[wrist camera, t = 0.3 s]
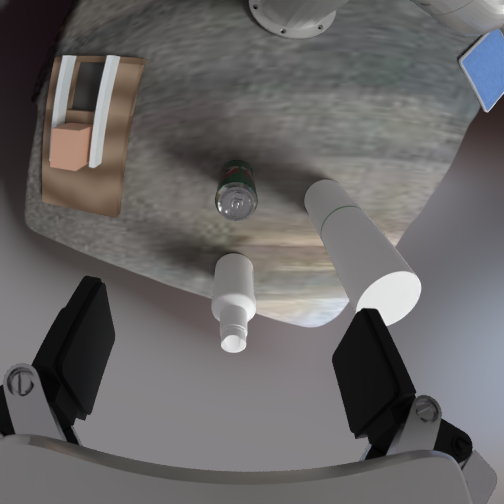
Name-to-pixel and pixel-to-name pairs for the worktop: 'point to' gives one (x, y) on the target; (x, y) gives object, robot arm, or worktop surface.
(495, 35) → the tablet computer
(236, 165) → the soda can
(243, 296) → the white bottle
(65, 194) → the board
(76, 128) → the block
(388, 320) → the cylindrical container
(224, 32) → the worktop surface
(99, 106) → the channel
